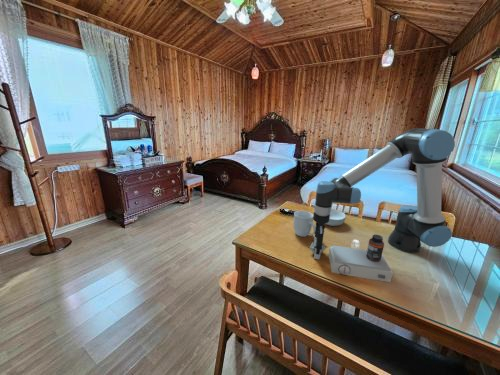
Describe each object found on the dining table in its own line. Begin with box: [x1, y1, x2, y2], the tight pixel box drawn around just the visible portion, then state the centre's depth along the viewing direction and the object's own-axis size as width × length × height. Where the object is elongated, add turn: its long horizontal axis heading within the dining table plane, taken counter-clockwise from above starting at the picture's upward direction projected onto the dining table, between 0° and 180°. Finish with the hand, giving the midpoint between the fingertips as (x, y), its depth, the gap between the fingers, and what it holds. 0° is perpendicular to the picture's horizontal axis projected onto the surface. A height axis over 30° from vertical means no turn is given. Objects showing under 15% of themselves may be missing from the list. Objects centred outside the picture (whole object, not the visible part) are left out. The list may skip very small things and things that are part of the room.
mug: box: [293, 210, 316, 238], centre depth 128 cm, size 15×11×13 cm
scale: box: [328, 244, 394, 283], centre depth 102 cm, size 24×15×6 cm, turn 77°
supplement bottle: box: [366, 233, 385, 262], centre depth 98 cm, size 6×6×11 cm
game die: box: [307, 239, 328, 255], centre depth 111 cm, size 9×8×10 cm
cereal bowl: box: [324, 208, 347, 227], centre depth 145 cm, size 17×17×7 cm
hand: (316, 253), depth 112 cm, fingers closed on game die, 8 cm apart
